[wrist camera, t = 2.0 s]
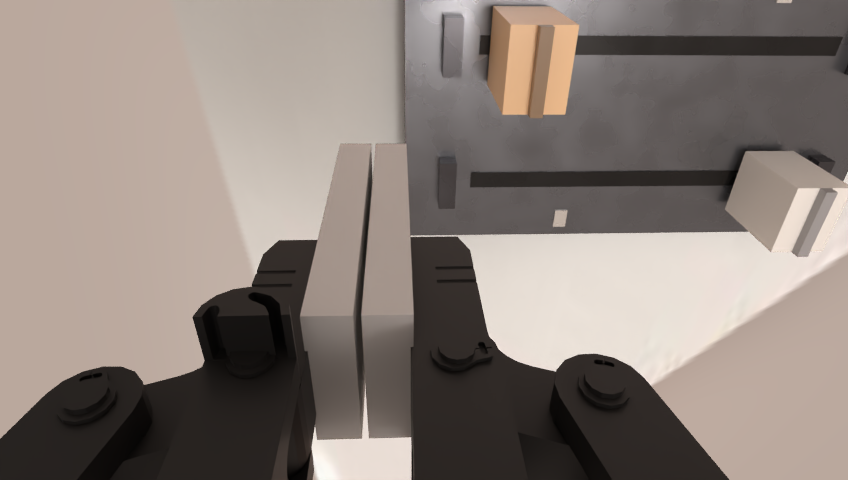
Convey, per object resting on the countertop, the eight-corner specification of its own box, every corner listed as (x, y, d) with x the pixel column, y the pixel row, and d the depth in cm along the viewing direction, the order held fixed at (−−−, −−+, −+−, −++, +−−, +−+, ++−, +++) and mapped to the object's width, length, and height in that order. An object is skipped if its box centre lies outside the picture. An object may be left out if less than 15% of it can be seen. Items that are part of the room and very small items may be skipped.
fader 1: (493, 6, 27) (513, 26, 23) (551, 6, 27) (582, 27, 23) (487, 84, 29) (504, 118, 25) (541, 84, 30) (568, 118, 25)
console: (404, -44, 28) (405, -39, 26) (913, -38, 29) (962, -32, 27) (405, 220, 37) (406, 243, 34) (800, 216, 38) (829, 238, 35)
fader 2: (745, 151, 32) (804, 192, 28) (793, 151, 32) (860, 192, 28) (724, 209, 34) (776, 257, 30) (770, 208, 35) (828, 256, 30)
